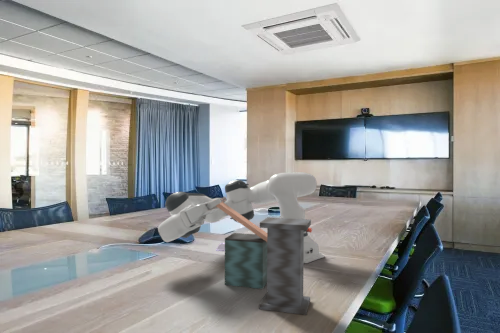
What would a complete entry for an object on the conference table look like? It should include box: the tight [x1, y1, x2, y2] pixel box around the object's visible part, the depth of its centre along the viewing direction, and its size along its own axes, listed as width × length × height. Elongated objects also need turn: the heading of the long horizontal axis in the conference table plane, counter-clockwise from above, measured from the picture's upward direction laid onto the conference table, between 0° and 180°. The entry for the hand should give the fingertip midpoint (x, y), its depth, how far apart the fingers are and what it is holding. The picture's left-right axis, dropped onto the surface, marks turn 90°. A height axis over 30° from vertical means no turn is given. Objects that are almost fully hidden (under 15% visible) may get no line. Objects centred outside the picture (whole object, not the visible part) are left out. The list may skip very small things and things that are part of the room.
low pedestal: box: [224, 232, 267, 290], centre depth 128 cm, size 14×10×17 cm
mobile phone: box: [215, 242, 225, 252], centre depth 179 cm, size 8×1×15 cm
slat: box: [214, 200, 267, 242], centre depth 127 cm, size 26×4×2 cm
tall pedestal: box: [258, 216, 312, 316], centre depth 108 cm, size 14×10×26 cm
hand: (223, 199), depth 130 cm, fingers closed on slat, 4 cm apart
